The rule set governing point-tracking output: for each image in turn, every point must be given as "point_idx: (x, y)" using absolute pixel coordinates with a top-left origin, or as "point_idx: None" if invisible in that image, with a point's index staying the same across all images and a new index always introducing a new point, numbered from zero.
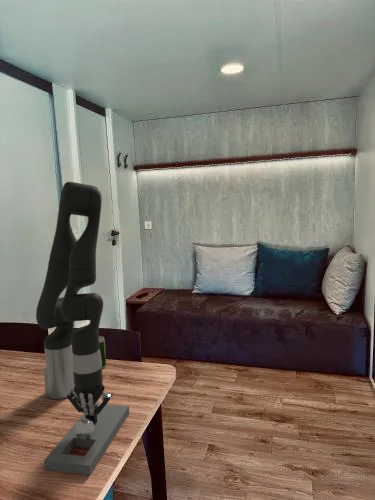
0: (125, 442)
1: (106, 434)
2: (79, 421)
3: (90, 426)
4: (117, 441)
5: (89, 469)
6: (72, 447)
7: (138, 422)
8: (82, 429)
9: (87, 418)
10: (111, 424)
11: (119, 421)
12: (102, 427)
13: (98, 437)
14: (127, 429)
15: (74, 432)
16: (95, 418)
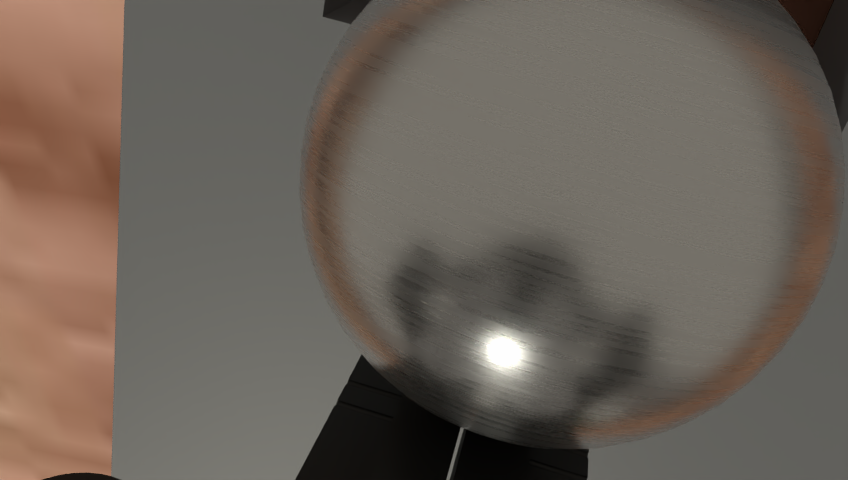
0: (5, 93)
1: (185, 156)
2: (709, 292)
3: (324, 100)
4: (120, 130)
5: None
6: (823, 35)
7: (4, 452)
8: None
9: (510, 472)
10: (193, 401)
11: (122, 456)
12: (316, 357)
13: (300, 82)
14: (80, 355)
15: (832, 307)
16: (319, 449)
